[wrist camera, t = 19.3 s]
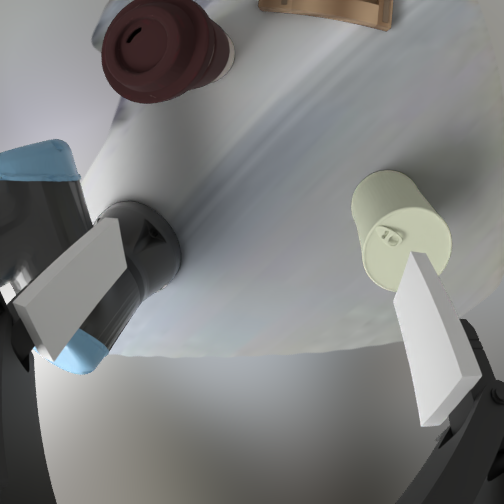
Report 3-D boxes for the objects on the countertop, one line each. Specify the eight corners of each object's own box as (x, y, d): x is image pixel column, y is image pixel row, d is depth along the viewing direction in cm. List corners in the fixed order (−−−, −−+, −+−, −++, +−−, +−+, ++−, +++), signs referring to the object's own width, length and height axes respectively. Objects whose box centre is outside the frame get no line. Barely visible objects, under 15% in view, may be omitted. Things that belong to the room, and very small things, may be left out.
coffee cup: (251, 89, 32) (207, 94, 19) (172, 99, 34) (96, 116, 21) (243, 11, 27) (196, -28, 14) (164, 27, 29) (85, 11, 16)
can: (381, 154, 33) (407, 187, 22) (434, 199, 34) (471, 246, 24) (336, 212, 37) (341, 265, 27) (389, 250, 38) (408, 310, 28)
